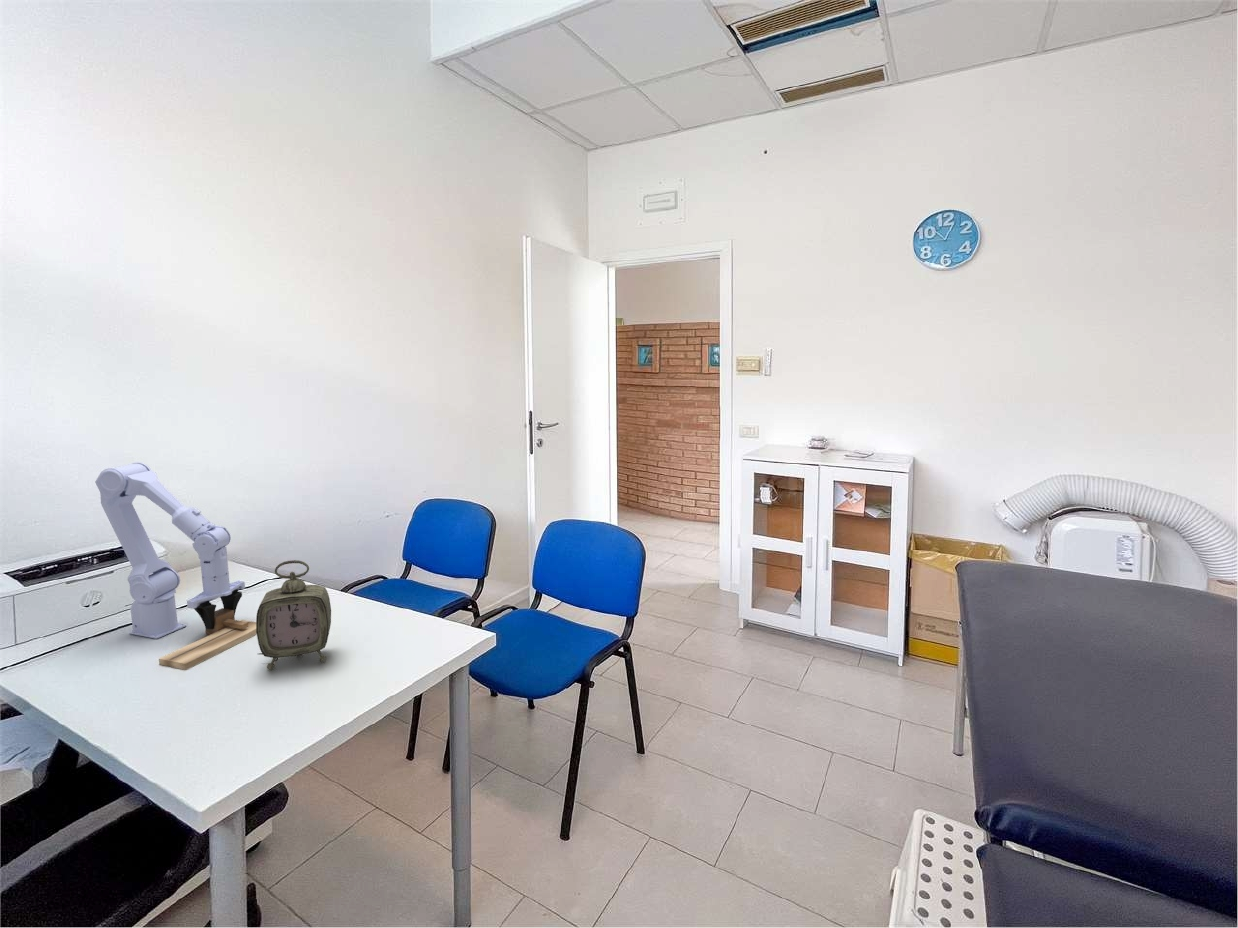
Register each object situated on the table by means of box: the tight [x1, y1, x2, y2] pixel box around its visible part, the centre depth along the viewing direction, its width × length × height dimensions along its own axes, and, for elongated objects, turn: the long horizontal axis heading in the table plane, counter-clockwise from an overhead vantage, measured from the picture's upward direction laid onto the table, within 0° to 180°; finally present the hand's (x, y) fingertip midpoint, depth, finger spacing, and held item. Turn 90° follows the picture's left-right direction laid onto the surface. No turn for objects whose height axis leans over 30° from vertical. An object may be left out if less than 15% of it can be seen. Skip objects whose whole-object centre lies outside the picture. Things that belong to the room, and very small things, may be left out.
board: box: [158, 619, 257, 671], centre depth 144 cm, size 8×22×2 cm, turn 165°
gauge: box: [204, 607, 248, 635], centre depth 150 cm, size 10×5×5 cm, turn 74°
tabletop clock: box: [255, 559, 332, 671], centre depth 135 cm, size 14×9×25 cm, turn 112°
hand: (220, 623), depth 151 cm, fingers closed on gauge, 5 cm apart
